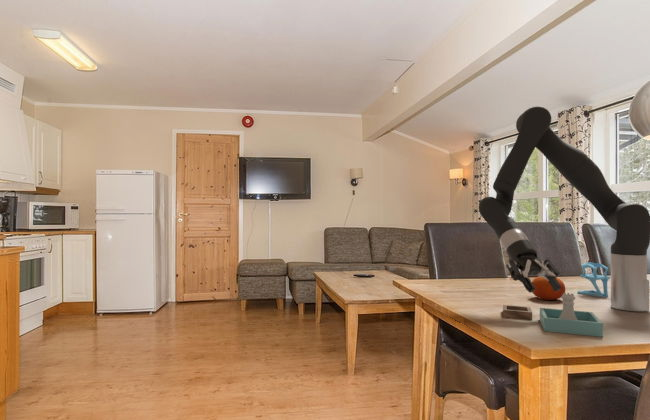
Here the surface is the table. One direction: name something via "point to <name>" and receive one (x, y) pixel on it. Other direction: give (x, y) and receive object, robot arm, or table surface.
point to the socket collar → (517, 312)
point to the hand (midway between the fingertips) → (545, 290)
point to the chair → (595, 277)
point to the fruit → (547, 289)
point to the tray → (571, 323)
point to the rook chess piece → (568, 307)
